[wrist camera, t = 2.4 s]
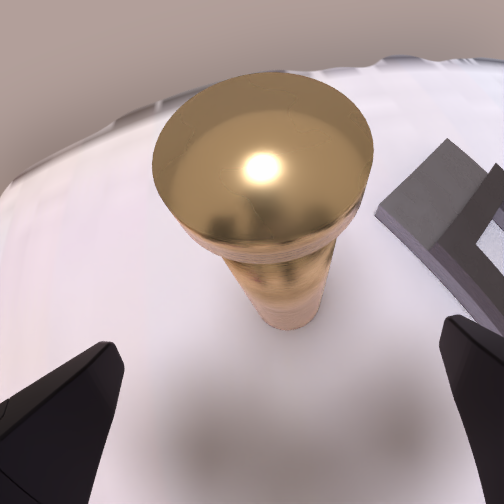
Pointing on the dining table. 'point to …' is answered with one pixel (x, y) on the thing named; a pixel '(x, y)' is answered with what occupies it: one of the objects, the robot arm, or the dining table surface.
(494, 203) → the grey rectangular frame
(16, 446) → the robot arm
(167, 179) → the brass pin
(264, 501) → the dining table surface
